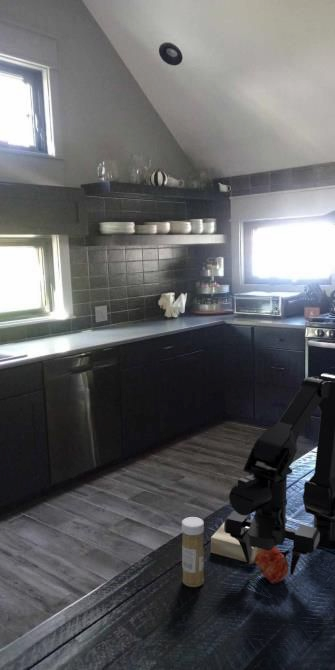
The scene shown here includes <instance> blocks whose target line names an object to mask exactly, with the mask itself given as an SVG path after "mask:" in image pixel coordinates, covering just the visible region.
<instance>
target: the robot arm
mask: <svg viewBox="0 0 335 670" xmlns="http://www.w3.org/2000/svg"><path fill="white" fill-rule="evenodd" d="M300 386H301V387H300V388H299V390H298V392H297V393H296V394H295V396H294V398H293V399H292V401H291V402H290V404H289V405H288V407H287V409H286V410H285V411H284V413H283V414H282V416H281V418H280V419H279V420H278V422H277V423H276V424H275V425H273V426H271V427H269V428H267V429H265V430H264V431H263V432H262V433H261V435H260V436H258V437H257V439H256V440H255V442H254V444H253V446H252V448H251V450H250V452H249V455H248V458H247V460H246V463H245V465H244V467H243V472H244V473H247V474H249V475H246V476H245V477H240V478H239V479H237V484H236V485H235V486H233V487H232V488H231V490H230V492H229V493H228V496H229V497H228V498H229V503H230V506H231V507H232V508H233V510H232V511H231V513H230V514H229V515H228V516H227V517H226V519H225V520H224V522H225V523H224V522H223V523H224V531H225V533H229V534H230V536H231V537H233V538H235V539H237V540H238V541H239V543H240V545H241V547H242V550H243V553H244V555H245V558H246V561H247V562H246V563H247V564H248V565H250V564H251V563H250V562H251V556H252V547H257V548H261V549H264V550H267V551H269V550H272V549H273V547H277V546H278V545H279V546H283V545H284V542H285V539H287V540H292V541H293V542H292V543H293V544H292V546H293V548H292V549H291V553H292V554H291V555H292V556H291V560H290V568H289V569H290V574H289V575H290V576H293V575H294V572H295V570H296V568H297V565H298V563H299V560H300V558H301V556H302V555H303V556H306V555H308V554H312V553H314V552H315V550H316V549H317V547H318V546H323V547H326V548H327V547H328V548H330V549H335V374H333V373H327V372H323V373H322V374H320V376H311V377H310V376H308V377H305V378H304V379H303V380H302V383H301V385H300ZM317 408H318V409H319V412H320V418H319V428H318V438H317V447H316V455H315V457H316V458H315V466H314V474H313V475H312V476H311V477H310V479H309V480H308V481H307V480H306V481H305V482H304V485H303V494H302V501H303V505H304V511H305V513H306V514H310V515H313V526H308V525H304V524H299V526H298V528H297V530H295V529H292V528H287V527H286V524H287V521H288V520H287V519H288V518H287V517H286V516H287V515H286V514H287V504H288V499H287V489H288V488H287V487H288V486H287V481H288V479H287V478H288V475H289V474H291V473H293V469H292V468H291V465H292V463H293V461H294V458H295V456H296V454H297V452H298V446H297V441H298V438H299V436H300V435H301V434H302V432H303V430H304V429H305V428H306V426H307V424H308V422H309V421H310V419H311V417H312V416H313V414H314V413H315V411H316V410H317ZM257 463H258V464H259V465H263V466H266V468H265V467H263V466H259V465H257ZM254 512H255V513H254ZM252 513H254V516H253V517H252V515H251V514H252Z"/></svg>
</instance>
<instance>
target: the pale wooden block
mask: <svg viewBox="0 0 335 670" xmlns="http://www.w3.org/2000/svg"><path fill="white" fill-rule="evenodd" d="M224 523H225V521H224V522H223V523H222V524H221V525H220V527H219V528H218V529H217V530H216V531H215V532H214V534H213V535H211V537H210V553H213V554H216V555H220V556H223V557H227V558H230V559H234V560H237V561H240V562H241V561H242V562H246V563H247V561H246V558H245V555H244V553H243V550H242V547H241V545H240V543H239V541H238V540H237V539H235V538H233V537H231V536H230V534H229V533H225V531H224ZM260 550H261V548H257V547H252V556H251V562H250V564H255V561H254V560H255V556H256V555H257V553H258V552H259V551H260Z"/></svg>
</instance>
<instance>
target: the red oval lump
mask: <svg viewBox="0 0 335 670" xmlns="http://www.w3.org/2000/svg"><path fill="white" fill-rule="evenodd" d="M290 553H292V550H289V549H288V550H286V551H280V549H279V548H278V547H277V546H274V547H273V549H272V550H269V551H267V550H264V549H261V550H260V551H259V552H258V553H257V555H256V556H255V560H254V564H255V565H256V566H257V568H258V569H259V571H258V572H257V573H255V574H254V575H252V576H250V579H254V578H255V577H257V576H258V575H259V574H261V573H262V576H263V578H265V579H267V580H268V582H269V583H270V584H277V583H280V582H282V581H283V580H284V579H285V578H286V577H287V575H288V573H289V569H290V568H289V562H288V559H287V555H288V554H290Z"/></svg>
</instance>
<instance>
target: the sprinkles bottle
mask: <svg viewBox="0 0 335 670" xmlns="http://www.w3.org/2000/svg"><path fill="white" fill-rule="evenodd" d="M204 523H205V522H204V520H203V519H201V518H199V517H196V516H189V517H185V518H184V519H182V521H181V534H182V543H181V544H182V545H181V547H182V548H181V553H182V554H181V555H182V559H181V560H182V566H181V568H182V579H181V580H182V583H183V585H184V586H186V587H189V588H197V587H200V586H202V585H203V584H204V581H205V579H204V531H205V524H204Z"/></svg>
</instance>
